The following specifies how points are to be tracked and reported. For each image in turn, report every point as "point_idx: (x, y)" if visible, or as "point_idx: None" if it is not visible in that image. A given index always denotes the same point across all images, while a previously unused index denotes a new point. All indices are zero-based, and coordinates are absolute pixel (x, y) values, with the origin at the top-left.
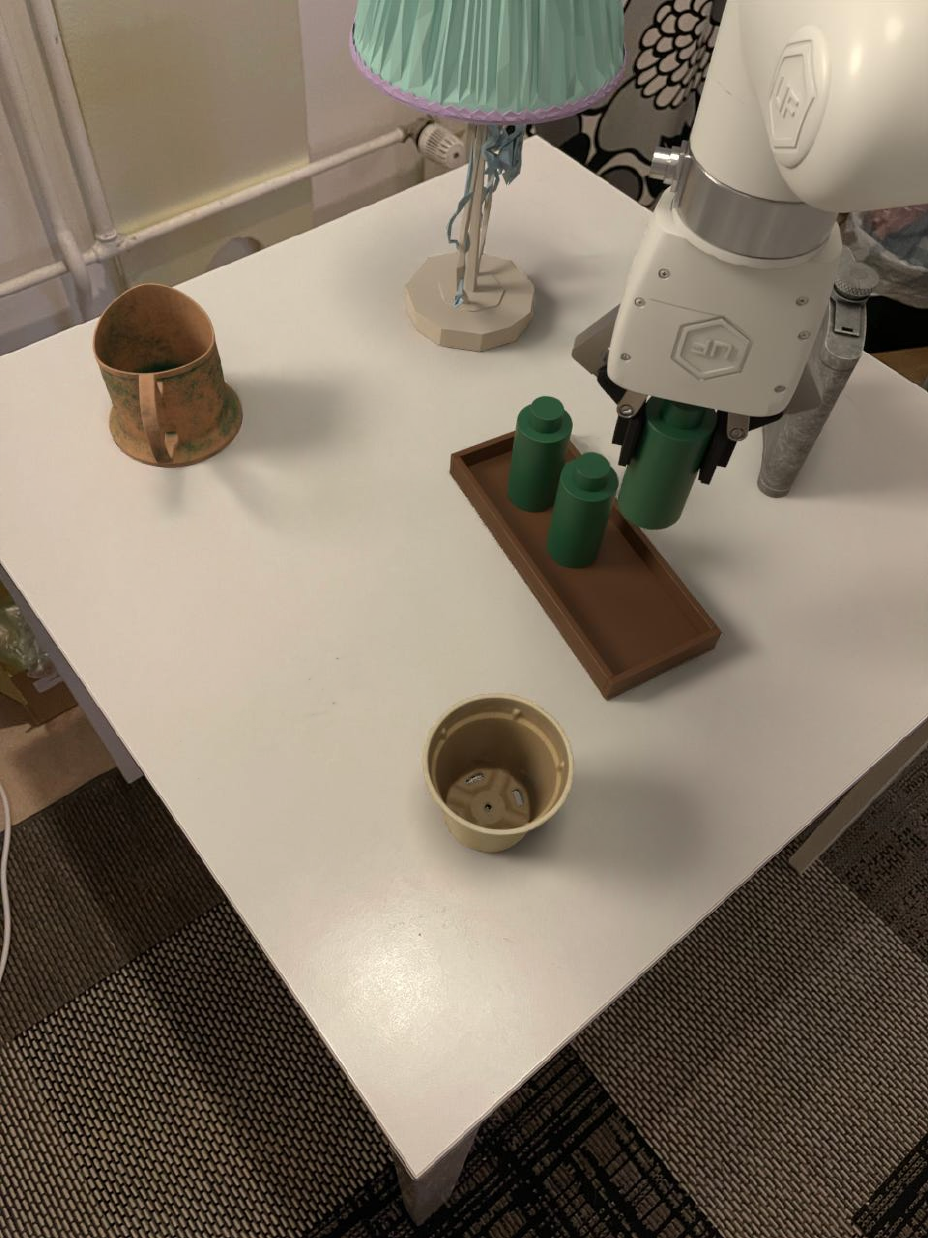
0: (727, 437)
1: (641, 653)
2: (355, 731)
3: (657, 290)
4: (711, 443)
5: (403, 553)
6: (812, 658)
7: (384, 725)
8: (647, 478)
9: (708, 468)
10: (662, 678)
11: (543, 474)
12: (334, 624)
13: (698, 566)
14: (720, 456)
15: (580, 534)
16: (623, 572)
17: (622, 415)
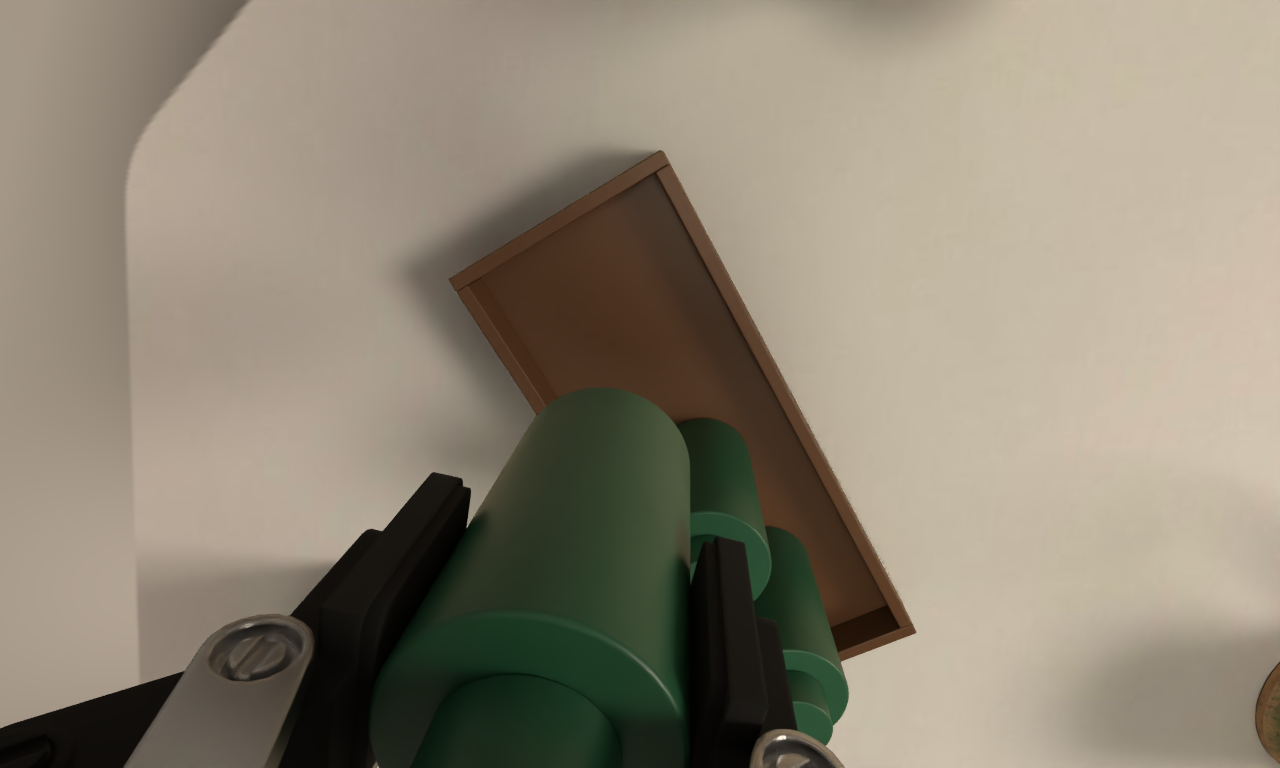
0: (318, 632)
1: (595, 247)
2: (1151, 53)
3: None
4: (403, 610)
5: (1003, 442)
6: (300, 258)
7: (1091, 71)
8: (643, 492)
9: (427, 515)
10: (559, 204)
11: (773, 587)
12: (1155, 290)
13: (487, 432)
14: (367, 551)
15: (711, 459)
16: None
17: (808, 742)
